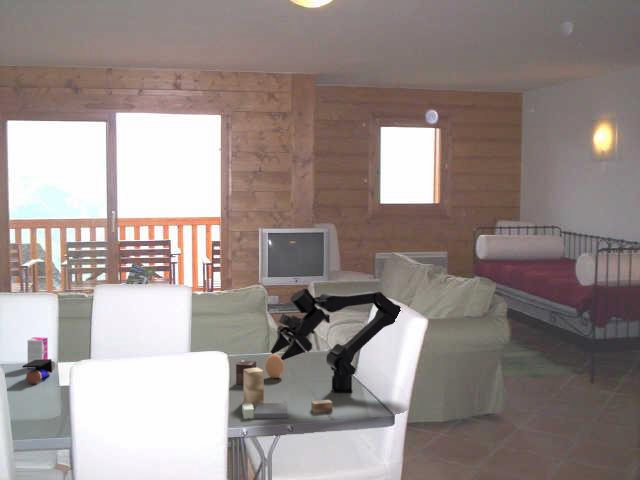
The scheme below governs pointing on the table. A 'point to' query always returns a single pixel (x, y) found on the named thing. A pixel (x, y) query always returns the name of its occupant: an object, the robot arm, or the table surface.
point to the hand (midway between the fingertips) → (276, 356)
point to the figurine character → (39, 370)
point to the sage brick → (248, 410)
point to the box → (240, 370)
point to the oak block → (253, 386)
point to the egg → (274, 366)
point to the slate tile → (270, 410)
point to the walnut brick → (321, 406)
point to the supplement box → (37, 349)
